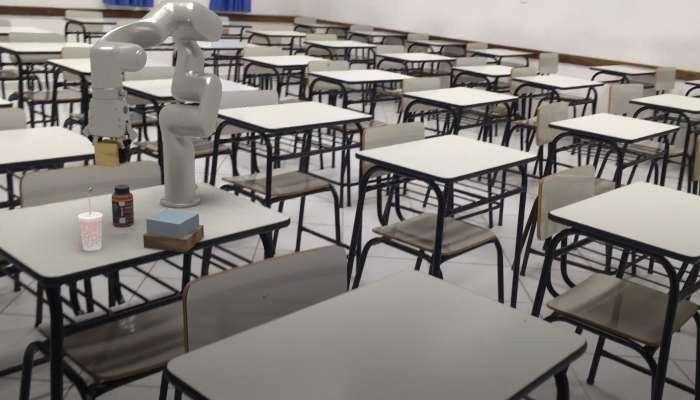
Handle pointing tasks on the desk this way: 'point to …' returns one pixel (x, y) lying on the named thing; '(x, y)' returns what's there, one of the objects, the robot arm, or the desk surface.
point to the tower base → (174, 241)
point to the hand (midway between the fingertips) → (111, 160)
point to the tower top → (172, 223)
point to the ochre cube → (107, 153)
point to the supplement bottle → (122, 206)
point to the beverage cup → (91, 229)
